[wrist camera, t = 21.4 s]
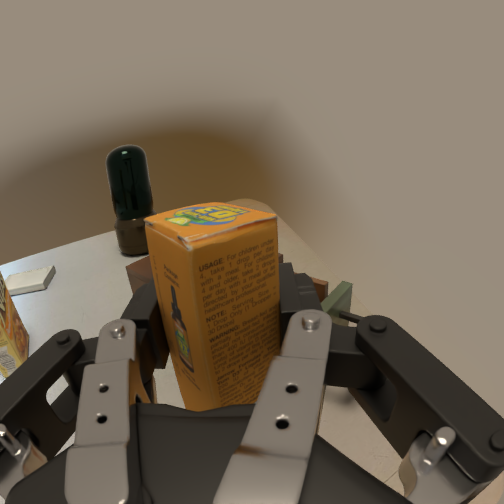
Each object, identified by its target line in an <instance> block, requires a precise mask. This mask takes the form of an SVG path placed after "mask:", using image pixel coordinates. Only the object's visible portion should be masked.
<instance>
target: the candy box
mask: <svg viewBox="0 0 504 504" xmlns="http://www.w3.org/2000/svg"><path fill="white" fill-rule="evenodd" d="M28 340H29V335H28V333H27V331H26V329H25V327H24V325H23V323H22V321H21V319H20V317H19V314H18V312H17V310H16V308H15V306H14V303H13V301H12V299H11V297H10V294H9V292H8V289H7V287H6V284H5V282H4V279H3V277H2V274H1V272H0V371H1V372H2V374H3V375H4V377H5V378H6V377H9V376H10V375H11V374H12V373H13V372H14V371H15V370H16V369H17V368H18V367H19V366H20V365H21V364H22V363H24V362H25V361H26V360H27V357H28Z"/></svg>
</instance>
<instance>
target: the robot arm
mask: <svg viewBox="0 0 504 504" xmlns="http://www.w3.org/2000/svg"><path fill="white" fill-rule="evenodd" d="M279 294H280V300H279V305H280V333H281V350H280V353H279V355H274V356H273V357H272V360H271V362H270V365H269V368H268V371H267V374H266V377H265V380H264V382H263V385H262V388H261V391H260V394H259V396H258V399H257V402H256V403H254V404H233V405H229V406H224V407H220V408H215V409H210V410H205V411H199V412H197V411H191V410H187V409H183V408H179V407H175V406H171V405H167V404H157V394H156V383H155V378H154V376H153V372H154V369H165V366H166V363H167V359H168V356H169V353H170V350H169V347H168V343H167V339H166V335H165V330H164V326H163V322H162V317H161V313H160V308H159V303H158V298H157V293H156V288H155V283H154V278H153V276H152V278H151V280H150V282H149V283H146V284H143V285H142V286H141V287H139V288H138V289H137V290H136V291H135V293H134V295H133V297H132V298H131V300H130V302H129V304H128V305H127V307H126V309H125V311H124V313H123V314H122V316H121V318H120V319H117V320H114V321H111V322H109V323H107V324H106V325H105V326H103V327H102V329H101V330H100V333H99V337H95V338H90V339H85V340H82V338H81V336H80V334H79V332H78V331H76V330H73V329H67V330H63V331H60V332H58V333H56V334H55V335H54V336H52V337H51V338H50V339H49V340H48V341H47V342H46V343H44V344H43V345H42V346H41V347H40V348H39V349H38V350H37V351H36V352H34V353H33V354H32V355H31V356H30V357H29V358H28V359H27V360H26V361H25V362H24V363H22V364H21V365H20V366H19V367H18V368H17V369H16V370H15V371H14V372H13V373H12V374H11V375H10V376H9V377H8V378H7V379H5V380H4V381H3V382H2V383H1V384H0V495H1V496H2V497H3V498H4V499H5V504H468V503H469V502H470V501H471V500H472V499H474V498H475V497H476V496H477V495H478V494H479V493H480V492H481V491H483V490H484V489H485V488H486V487H487V486H488V485H489V484H490V483H491V482H492V481H493V480H494V479H495V478H496V477H497V476H498V475H499V474H500V473H501V472H502V471H503V470H504V419H503V418H502V417H501V416H500V415H499V414H498V413H497V412H496V411H495V410H494V409H492V408H491V407H490V406H489V405H488V404H487V403H486V402H485V401H484V400H483V399H482V398H481V397H480V396H478V395H477V394H476V393H475V392H474V391H473V390H472V389H471V388H469V386H467V385H466V384H465V383H464V382H463V381H462V380H461V379H460V378H458V377H457V376H456V375H455V374H454V373H453V372H452V371H451V370H450V369H449V368H447V367H446V366H445V365H444V364H443V363H442V362H440V361H439V360H438V359H437V358H436V357H435V356H434V355H433V354H432V353H430V352H429V351H428V350H427V349H426V348H425V347H423V346H422V345H421V344H420V343H419V342H418V341H416V340H415V339H414V338H413V337H412V336H411V335H410V334H408V333H407V332H406V331H405V330H403V329H402V328H401V327H400V326H399V325H398V324H397V323H395V322H394V321H393V320H392V319H390V318H387V317H384V316H380V315H371V316H367V317H364V318H362V319H361V320H360V321H359V322H358V323H357V327H349V326H341V325H338V324H335V323H333V322H332V319H331V317H330V316H329V315H328V314H327V313H325V312H323V309H322V306H321V303H320V300H319V297H318V294H317V292H316V289H315V286H314V283H313V280H312V278H310V277H309V276H308V275H307V274H305V273H300V274H294V271H293V267H292V264H291V262H290V263H279ZM62 374H63V376H64V378H65V380H66V381H67V383H68V385H69V386H68V387H67V388H66V389H65V390H64V391H63V392H62V393H61V394H60V395H59V396H58V398H57V399H56V400H55V401H54V402H53V403H52V404H51V405H49V403H48V402H47V400H46V393H47V391H48V389H49V388H50V387H51V386H52V385H53V384H54V383H55V382H56V381H57V380H58V379H59V378H60V377H61V376H62ZM326 385H330V386H338V387H347V388H348V390H349V392H350V393H351V395H352V396H353V397H354V398H355V400H356V401H357V402H358V403H359V405H360V406H361V407H362V409H363V410H364V411H365V412H366V414H367V415H368V416H369V417H370V419H371V420H372V421H373V423H374V424H375V425H376V426H377V428H378V429H379V430H380V431H381V433H382V434H383V435H384V436H385V438H386V439H387V440H388V441H389V443H390V444H391V445H392V447H393V448H394V449H395V450H396V452H397V453H398V454H399V455H400V457H401V458H402V459H403V460H402V462H401V464H400V466H399V478H400V480H401V482H402V484H403V486H404V496H402V495H401V494H399V493H398V492H396V491H395V490H393V489H392V488H390V487H389V486H387V485H386V484H384V483H383V482H381V481H380V480H378V479H377V478H375V477H374V476H373V475H371V474H370V473H368V472H367V471H366V470H364V469H363V468H361V467H360V466H359V465H357V464H356V463H355V462H353V461H352V460H351V459H349V458H348V457H346V456H345V455H344V454H342V453H341V452H340V451H339V450H337V449H336V448H335V447H333V446H332V445H331V444H329V443H328V442H327V441H326V440H324V439H323V438H322V437H320V436H319V435H318V432H319V426H320V420H321V414H322V408H323V401H324V395H325V389H326ZM74 432H75V441H74V444H72V445H71V446H70V447H68V448H67V449H65V450H64V451H62V452H61V453H60V454H58V455H57V456H55V455H56V454H57V453H58V452H59V450H60V449H61V448H62V447H63V445H64V444H65V443H66V442H67V440H68V439H69V438H70V437H71V436H72V434H73V433H74Z"/></svg>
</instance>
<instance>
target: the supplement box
mask: <svg viewBox="0 0 504 504" xmlns="http://www.w3.org/2000/svg"><path fill="white" fill-rule="evenodd" d="M144 221H145V222H146V223H145V231H146V238H147V244H148V250H149V256H150V261H151V267H152V273H153V278H154V283H155V288H156V293H157V298H158V303H159V308H160V313H161V317H162V322H163V326H164V330H165V335H166V339H167V343H168V347H169V350H170V355H171V359H172V363H173V366H174V370H175V374H176V377H177V381H178V384H179V388H180V392H181V395H182V398H183V401H184V404H185V407H186V409H187V410H191V411H197V412H199V411H205V410H210V409H215V408H220V407H224V406H229V405H233V404H254V403H256V402H257V399H258V396H259V394H260V391H261V388H262V385H263V382H264V380H265V377H266V374H267V371H268V368H269V365H270V362H271V360H272V357H273V356H274V355H279V353H280V350H281V333H280V305H279V300H280V294H279V261H278V233H277V215H275V214H271V213H267V212H262V211H257V210H253V209H248V208H244V207H239V206H235V205H230V204H226V203H221V202H213V203H204V204H197V205H192V206H187V207H184V208H179V209H175V210H171V211H167V212H163V213H160V214H157V215H153V216H150V217H147V218H145V219H144Z"/></svg>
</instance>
